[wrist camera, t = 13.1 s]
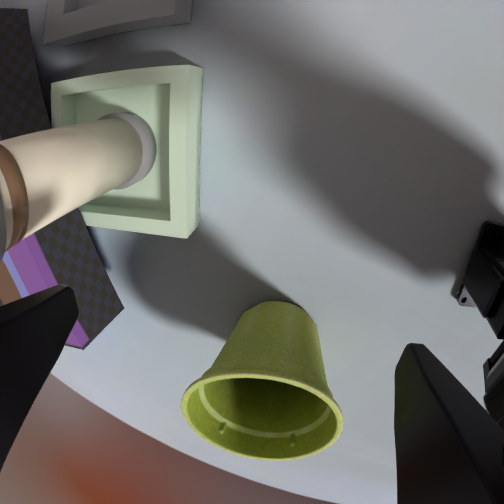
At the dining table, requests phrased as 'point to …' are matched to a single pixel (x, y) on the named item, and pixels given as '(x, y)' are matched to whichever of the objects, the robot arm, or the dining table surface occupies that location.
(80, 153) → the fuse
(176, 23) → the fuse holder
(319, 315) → the dining table surface
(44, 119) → the cereal box
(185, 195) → the parts tray
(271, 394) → the plant pot
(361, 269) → the dining table surface
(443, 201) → the dining table surface
